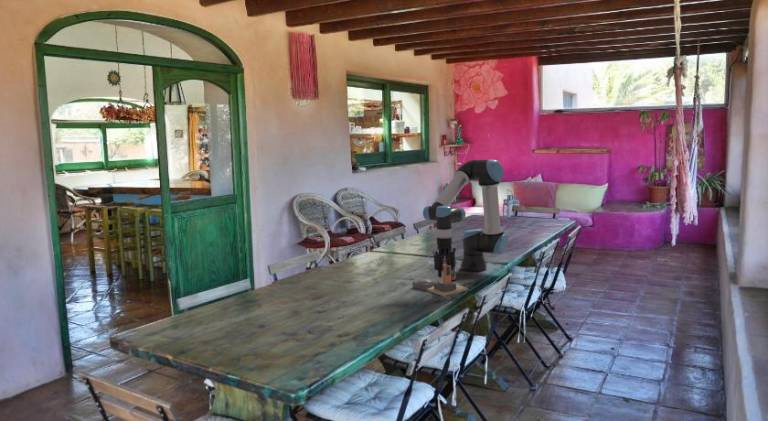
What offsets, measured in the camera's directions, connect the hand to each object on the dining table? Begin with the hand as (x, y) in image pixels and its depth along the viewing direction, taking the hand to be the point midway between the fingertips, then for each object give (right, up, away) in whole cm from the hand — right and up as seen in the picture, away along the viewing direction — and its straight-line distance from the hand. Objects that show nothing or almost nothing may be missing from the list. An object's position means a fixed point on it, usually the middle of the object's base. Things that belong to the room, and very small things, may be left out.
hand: (444, 282), depth 290 cm
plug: (0, -1, 0) cm, 1 cm away
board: (+1, -4, +3) cm, 6 cm away
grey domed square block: (-9, -4, +10) cm, 14 cm away
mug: (+5, -1, +25) cm, 25 cm away
